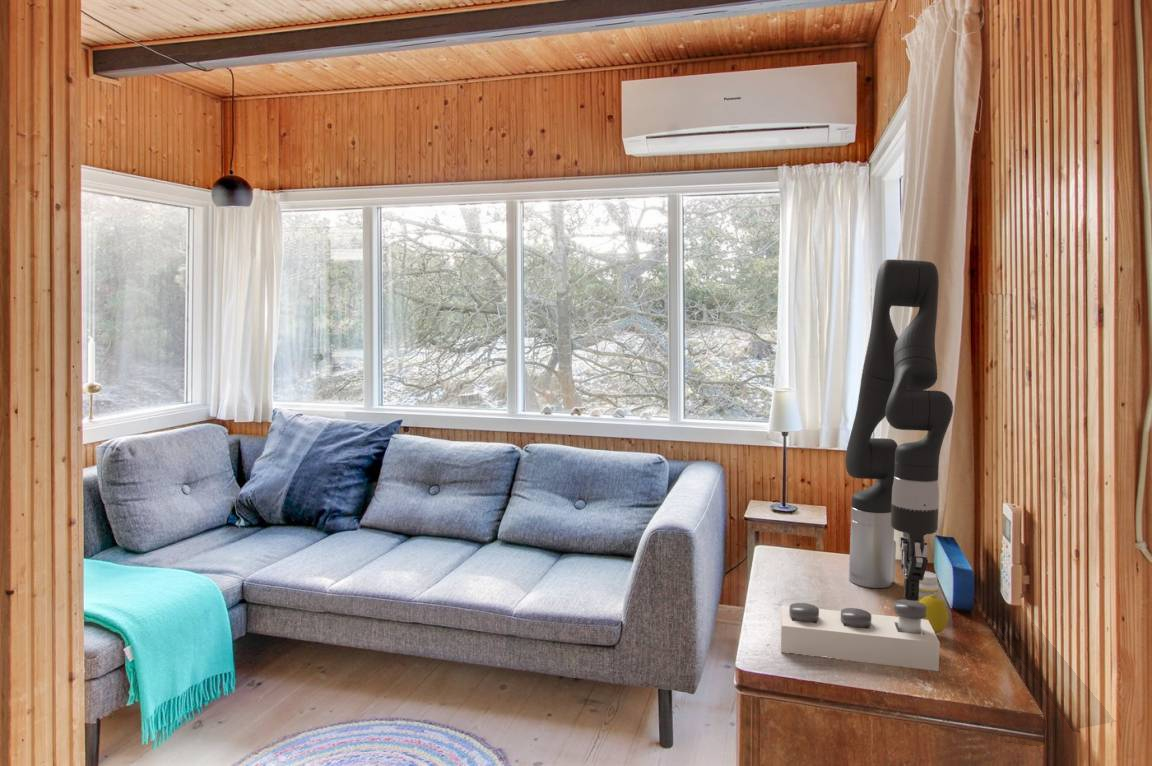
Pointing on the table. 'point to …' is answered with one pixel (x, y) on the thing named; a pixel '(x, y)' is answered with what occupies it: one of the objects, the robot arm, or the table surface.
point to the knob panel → (861, 640)
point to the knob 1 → (804, 612)
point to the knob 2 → (909, 615)
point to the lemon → (935, 612)
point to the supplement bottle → (928, 585)
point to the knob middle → (855, 618)
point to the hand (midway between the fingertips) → (911, 598)
